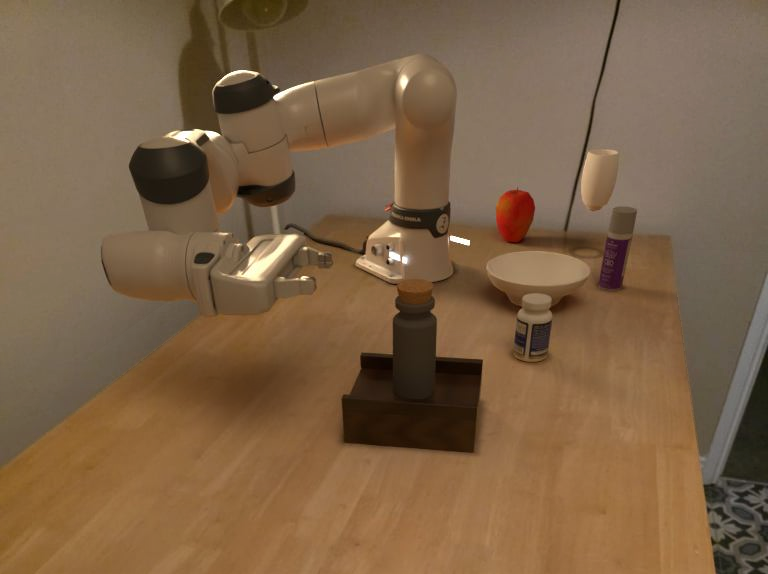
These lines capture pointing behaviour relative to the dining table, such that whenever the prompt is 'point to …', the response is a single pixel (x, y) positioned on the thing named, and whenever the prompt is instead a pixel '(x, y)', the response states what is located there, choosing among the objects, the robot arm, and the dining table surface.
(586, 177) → the cup
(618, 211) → the container
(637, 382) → the dining table surface
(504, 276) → the bowl
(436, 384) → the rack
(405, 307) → the bottle
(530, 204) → the apple
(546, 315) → the pill bottle
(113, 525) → the dining table surface
